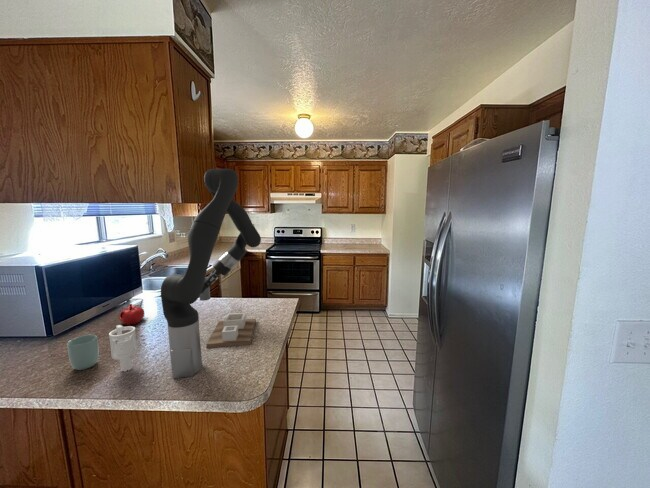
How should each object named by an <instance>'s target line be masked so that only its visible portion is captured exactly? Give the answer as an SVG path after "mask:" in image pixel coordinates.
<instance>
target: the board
mask: <svg viewBox="0 0 650 488" xmlns="http://www.w3.org/2000/svg"><path fill="white" fill-rule="evenodd" d="M223 321H224V320H219V321H218V322H217V324H216V326H215V328H214V329H213V331H212V333H211V335H210V337H209V339H208V340H207V342H206V344H205V346H206V348H207V349H209V348H210V349H211V348H218V347H219V348H220V347H221V348H222V347H232V346H233V347H234V346H243V345H251V344H252V341H253V340H252V339H253V336H254V331H255V328H256V327H255V326H256V322H257V318H246V323H245V326H244V329H238V337H237V339H236V340H234V341H222V331H223V328H224V322H223Z"/></svg>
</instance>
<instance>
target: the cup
mask: <svg viewBox="0 0 650 488" xmlns="http://www.w3.org/2000/svg"><path fill="white" fill-rule="evenodd" d="M66 347H67V353H68V360H69V363H70V365H71V367H72V368H73V369H74V370H77V371H83V370H87V369H90V368H92V367H93V366H95V365H96V364H97V363H98V361H99V357H100V349H99V348H100V347H99V341H98V336H97V335H96V334H92V333H91V334H84V335H81V336H77V337H74V338H73V339H70V340H68V342H67V344H66Z"/></svg>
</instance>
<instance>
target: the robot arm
mask: <svg viewBox="0 0 650 488" xmlns="http://www.w3.org/2000/svg"><path fill="white" fill-rule="evenodd" d="M203 180H204V185H205V187H206V188H207V190H208V191H209V193H210V194H211V195H212V197H213V199H212V200H211V201H210V202H209V203H208V204H207V205H206V206H205V207H204V208H202V210H200V211H199V212H198V213H197V215H196V216H195V217H194V219H193V221H192V223H191V226H190V228H189V231H188V234H187V243H188V244H187V245H188V250H189V262H188V266H187V269H186V271H185V273H184V274H180V273H179V274H178V273H172V274H170V275H168V276H167V277H165V278H164V279H163V281H162V283H161V286H160V287H161V288H160V299H161V306H162V312H163V316H164V318H165V320H166V322H167V332H168V347H169V354H170V365H171V374H172V379H178V378H190V377H193V376H194V375H195V374H197V373H198V372H200V371H201V369H202V368H203V360H202V358H203V356H202V348H201V347H202V344H201V333H200V318H199V312H198V310H197V309H195V307H193V306H192V304H194V303H195V302H196V301H197V300H198V299H200V294H201V293H202V292H203V291H204V290H205V289H206V288H208V287H209V288H210V286H211V285H213V284H214V283H215V282H216V281H217V280H218V279H219V278H220V275H221V276H222V277H223V276H227V275H228V274H229V273H230V272H231V271H232V270H233V269H234V268H235V266H236V265H237V264H238V263H239V261H240V260H242V259H243V257H245V255H246V253H247V250H246V246H248V247H249V248H257V247H258V246H259V245H261V242H262V241H261V240H262V238H261V235H260V233H259V232H258V230H257V229H256V227H255V225H254V224H253V222H252V220H251V218H250V216H249V214H248V212H247V211H246V209H244V208H243V206H242V205H240V204H239V203H238V202H237V201H236V200H235V199H233V198H234V196H235V194H236V191H237V189H238V186H239V176H238V173H237V172H236V171H235V170H234V169H230V168H210V169H208V170H207V171H205V173H204V176H203ZM226 214H228V216H229V217H230V219H231V221H232V223H233V225H234V226H235V228H236V229H237V230H238V231H239V234H238V235H237V237H236V239H235V240H234V242H233V244H232V246H231V247H230V248H228V249H227V251H225V252H224V253H223V254H222V255H221V256H220V257H219V258H218V259H217V260H216V261H215V262H214V263H213V264H212V267H213V269H214V270H212V271H211V272H210V273H209V275H208V276H206V275H207V271H208V268H209V263H210V261H211V260H210V259H211V257H212V253H213V250H214V247H215V245H216V242H217V240H218V237H219V234H220V231H221V227H222V225H223V222H224V219H225V217H226ZM205 277H208V278H209V279H208V278H207V279H206V281H205V283H204V280H205ZM206 283H208V284H209V285H207V284H206Z"/></svg>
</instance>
